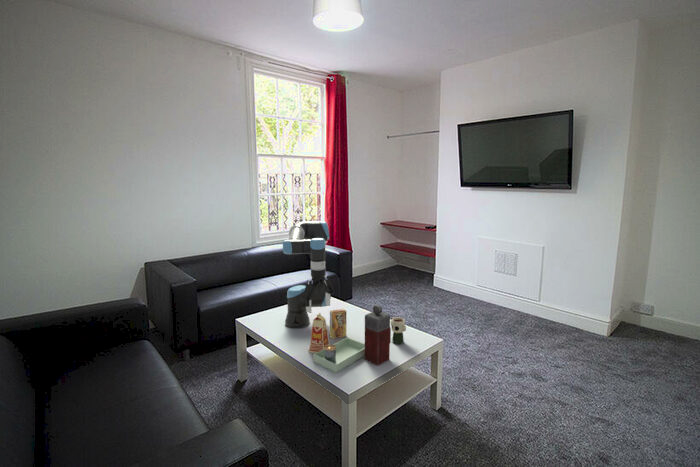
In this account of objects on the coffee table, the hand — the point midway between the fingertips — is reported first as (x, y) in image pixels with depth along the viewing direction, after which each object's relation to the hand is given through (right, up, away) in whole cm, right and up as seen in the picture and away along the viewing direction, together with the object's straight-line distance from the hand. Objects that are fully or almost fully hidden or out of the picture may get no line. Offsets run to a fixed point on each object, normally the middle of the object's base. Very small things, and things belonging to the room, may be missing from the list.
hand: (318, 308), depth 178 cm
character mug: (+43, -21, +11) cm, 49 cm away
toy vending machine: (+30, -24, -6) cm, 39 cm away
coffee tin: (+7, -24, -12) cm, 27 cm away
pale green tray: (+12, -23, -5) cm, 27 cm away
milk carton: (0, -22, +3) cm, 23 cm away
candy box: (+9, -20, +19) cm, 29 cm away
